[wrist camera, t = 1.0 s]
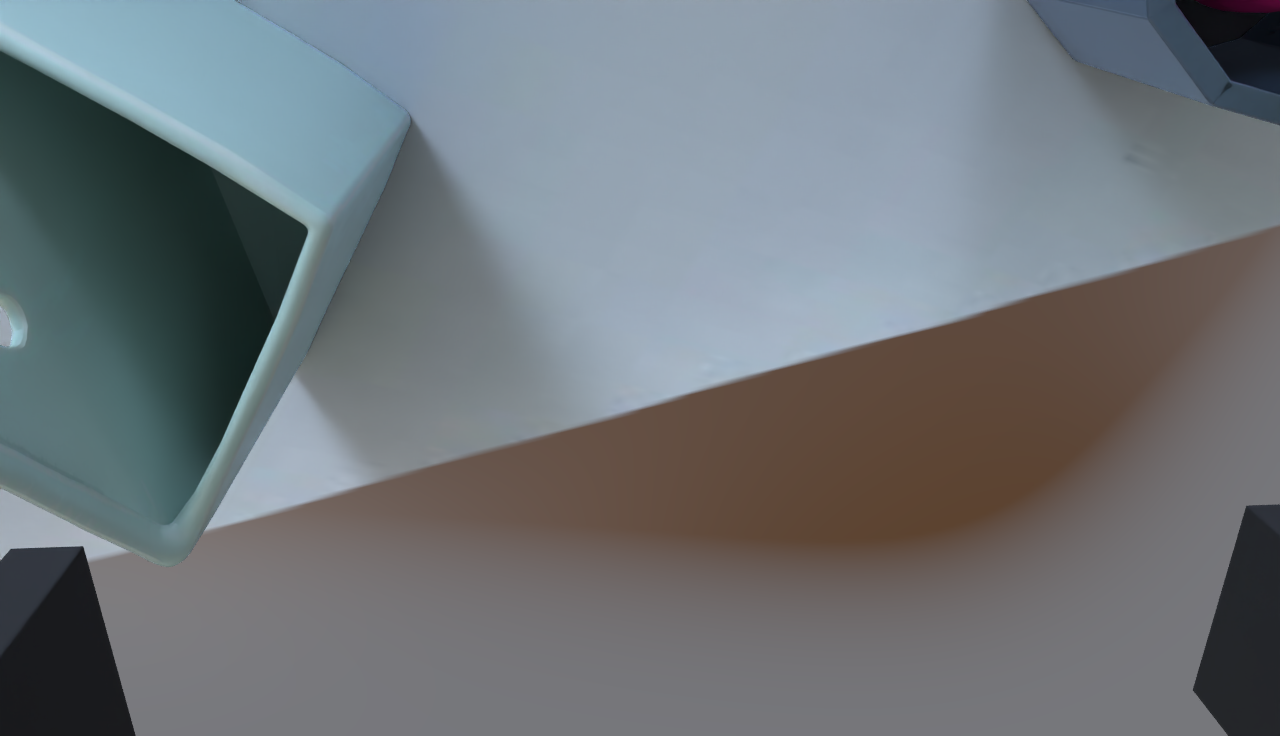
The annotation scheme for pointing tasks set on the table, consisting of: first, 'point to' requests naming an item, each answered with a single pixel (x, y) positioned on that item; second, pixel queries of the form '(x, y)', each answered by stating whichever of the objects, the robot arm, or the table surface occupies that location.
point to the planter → (166, 248)
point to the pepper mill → (1243, 5)
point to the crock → (1172, 51)
